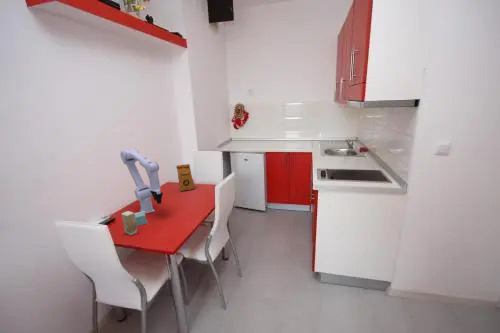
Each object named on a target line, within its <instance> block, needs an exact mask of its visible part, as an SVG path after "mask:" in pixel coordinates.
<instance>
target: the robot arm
mask: <svg viewBox="0 0 500 333" xmlns="http://www.w3.org/2000/svg"><path fill="white" fill-rule="evenodd" d="M120 158H121V161H122V162H123V165H125V166H127V167H126V168H127V169H128V172H129V173H130V176H131V178H132V180H133V181H134V184H135V187H136V188H135V189H134V191H133V192H134V195H135V198H136V200H137V201H139V204H140V208H139V212H142V211H145V215H146V214H148V213H152V212H155V208H153V202H152V197H153V200H154V201H156V203H157V205H159V204H162V197H163V194H164V192H161V189H162V187H161V183H160V178H159V170H160V166H159V164H158V162H157V161H152V160H150V159H149V158H148V157H147V156H146V157H143V156H142V155H141V154H140V152H139V150H138V149H137V148H131V149H126V150H121V152H120ZM137 162H138V163H139V165H140V166H141V167H142V168H144V170H145V172H146V175H147V176H148V180H149V181H148V183H149V185H148V184H145V183H144V180H143V178H142V176H141V174H140V172H139V170H138V168H137V165H136V163H137Z"/></svg>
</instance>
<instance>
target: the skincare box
mask: <svg viewBox="0 0 500 333" xmlns="http://www.w3.org/2000/svg"><path fill="white" fill-rule="evenodd" d="M134 214H135V212H132V211H129V210H127V211H124V212H122V213H121V219H122V222H123V223H122V224H123V229H124V233H125V234H126V235H129V236H132V235H133V236H134V234H137V233H138V226H136V220H135V215H134Z"/></svg>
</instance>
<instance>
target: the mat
mask: <svg viewBox="0 0 500 333" xmlns="http://www.w3.org/2000/svg"><path fill="white" fill-rule="evenodd" d="M146 224H149V221H148V220H147V219H146V223H143V224H140V225H137V223H136V226H137V227H140V226H143V225H146Z"/></svg>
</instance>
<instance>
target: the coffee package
mask: <svg viewBox="0 0 500 333" xmlns="http://www.w3.org/2000/svg"><path fill="white" fill-rule="evenodd" d="M175 166H176V167H175V168H176V170H177V178H178V190H179V192H183V191H184V192H186V191H192V190H191V189H193V190H194V188H195V183H194V178H193V176H192V171H191V170H192V169H191V167H190V166H191V165H190V164H189V163H186V164H179V165H175ZM185 190H186V191H185Z"/></svg>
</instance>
